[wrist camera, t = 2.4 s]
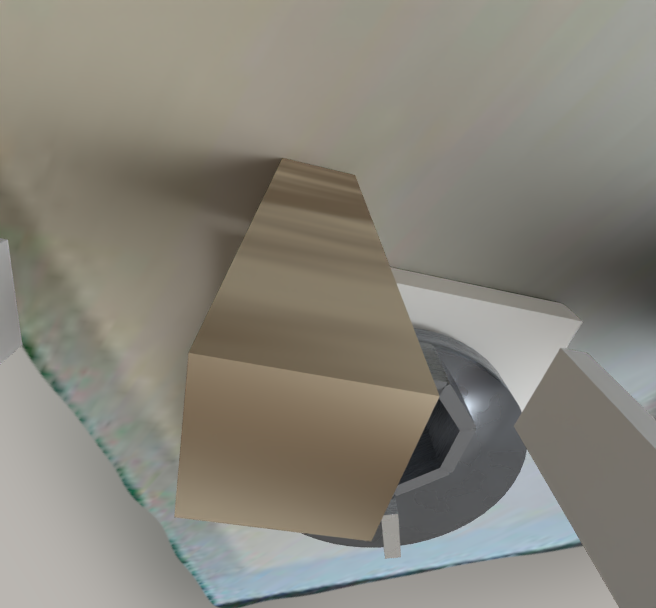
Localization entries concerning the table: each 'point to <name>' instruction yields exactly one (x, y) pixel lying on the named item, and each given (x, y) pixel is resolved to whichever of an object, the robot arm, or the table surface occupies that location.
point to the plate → (492, 325)
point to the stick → (303, 371)
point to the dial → (452, 451)
